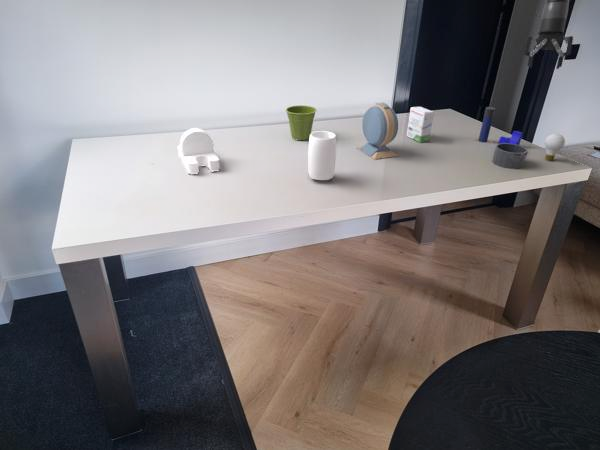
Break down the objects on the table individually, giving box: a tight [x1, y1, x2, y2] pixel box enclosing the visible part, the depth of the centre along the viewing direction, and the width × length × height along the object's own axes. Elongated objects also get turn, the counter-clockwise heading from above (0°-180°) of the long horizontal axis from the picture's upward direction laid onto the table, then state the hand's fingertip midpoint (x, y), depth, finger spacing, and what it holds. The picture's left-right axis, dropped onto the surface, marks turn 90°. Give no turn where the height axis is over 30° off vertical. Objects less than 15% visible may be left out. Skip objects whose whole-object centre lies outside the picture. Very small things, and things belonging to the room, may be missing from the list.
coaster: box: [471, 137, 494, 144], centre depth 168 cm, size 8×8×1 cm
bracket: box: [177, 127, 221, 174], centre depth 141 cm, size 19×10×11 cm, turn 24°
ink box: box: [406, 106, 435, 143], centre depth 167 cm, size 8×5×12 cm, turn 27°
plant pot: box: [285, 104, 317, 141], centre depth 165 cm, size 12×12×11 cm
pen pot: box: [491, 143, 529, 170], centre depth 146 cm, size 10×10×6 cm
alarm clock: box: [356, 102, 399, 160], centre depth 152 cm, size 14×10×18 cm
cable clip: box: [498, 130, 524, 145], centre depth 159 cm, size 12×4×6 cm, turn 132°
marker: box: [477, 106, 496, 143], centre depth 164 cm, size 3×3×13 cm
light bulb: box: [544, 133, 566, 162], centre depth 149 cm, size 6×6×10 cm
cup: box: [307, 130, 337, 181], centre depth 131 cm, size 8×8×14 cm
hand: (543, 68), depth 151 cm, fingers open, 8 cm apart
